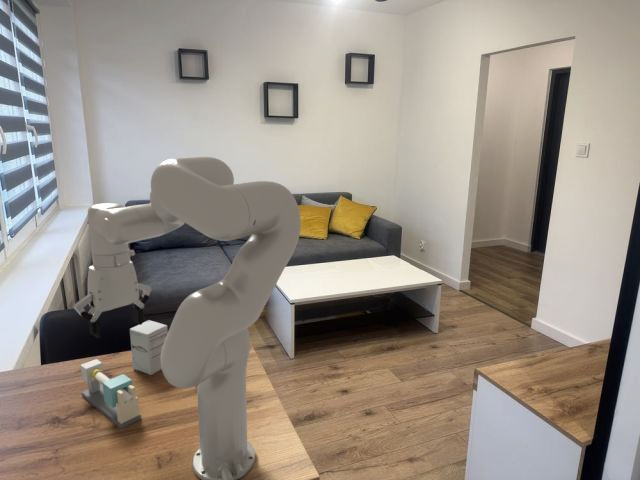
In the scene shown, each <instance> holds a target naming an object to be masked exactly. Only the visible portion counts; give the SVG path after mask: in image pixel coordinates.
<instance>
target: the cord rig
mask: <svg viewBox="0 0 640 480" xmlns="http://www.w3.org/2000/svg"><path fill="white" fill-rule="evenodd" d="M80 371H81V379H82V381H84V382H85V383H86V384H87V389H86V390H84V391H82V392H81V397H83V398H84V399H85V400H87V401H88V402H89V403H91V405H92V406H94V407H95V408H96V409H97V410H98V411H99V412H101V413H102V414H103V415H104V416H105V417H106V418H107V419H108V420H110V421H111V422H112V423H113V424H114V425H116V426H117V427H118V429H123V428H125V427H127V426H130V425H131V424H134V423H135V422H137V421H139V420H141V419H142V414H141V413H140V408H139V397H138V396H137V395H136V387H135V386H133V384H132V385H130V386H128V390H129V393H128V392H127V391H125V390H124V389H123V388H122V389H120V390H118V391H116V395H117V399H118V403H116V407H114V408H112V407H111V406H110V405H108V404H107V403H106V402H105V401H104V392H103V382H105V381H107V380H110V379H111V378H109V377H108V376H107V375H105V374H104V369H103V363H102V361H100V360H99V359H97V358H96V359H92V360H91V361H87V362H85V363H82V364H80ZM100 383H101V384H100Z"/></svg>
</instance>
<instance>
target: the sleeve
mask: <svg viewBox="0 0 640 480" xmlns="http://www.w3.org/2000/svg"><path fill="white" fill-rule="evenodd" d="M109 379H110V380H107V381H105V382H103V384H102V385H103V392H104V401H105V402H106V403H107V404H108V405H110V406H111V407H112V408H114V407H116V403H118V399H117V395H116V391H118V390H120V389H122V388H123V389H124V390H125V391H127V392H128V393H129V390H128V386H130V385H132V386H133V380H132V378H130V377H128V376H127V375H125V373H122V374H120V375H118V376H114V377H112V378H109Z"/></svg>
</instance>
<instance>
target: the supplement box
mask: <svg viewBox="0 0 640 480" xmlns="http://www.w3.org/2000/svg"><path fill="white" fill-rule="evenodd" d="M168 331H169V330H168V325H167V324H164V323H160V322H157V321H153V320H150V319H148V320H146V321H144V322H142V324H141V325H139V324H137V325H135V326H133V327H131V328H129V336H130V347H131V348H130V349H131V360H132V369H133V370H135V371H139V372H141V373H145V374H147V375H149V376H152V375H154V374H155V373H158V372H159V371H160V370H161V371H162V369H161V361H160V358H161V351H162V347H163V344H164V341H165V339H166V336H167V334H168Z"/></svg>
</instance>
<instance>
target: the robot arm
mask: <svg viewBox="0 0 640 480" xmlns="http://www.w3.org/2000/svg"><path fill="white" fill-rule="evenodd" d="M149 201H150V202H149V203H143V204H142V203H141V204H138V205H130V206H125V207H124V205H122V204H121V203H115V202H111V203H110V202H104V203H103V202H102V203H97V204H92V205H90V206H89V208H88V210H87V220H88V227H89V228H88V231H89V239H90V247H91V248H90V251H91V258H92V265H90V266H89V267H88V273H87V294H86V295H85V296H84V297H83V298H81V299H80V300H78V301H77V302H76V303H74V304H73V308H74V310H75V311H76V312H77V313H78V314H79V315H80V316H81V317H82V318H85V320H87V321H88V327H89V333H90V335H92V336H94V338H97V339H100V338H101V337H102V332H101V323H100V321H99V320H98V319H99V317H100V316H101V314H102V313H103V312H107V311H112V310H114V309H118V308H121V307H125V306H129V305H132V304H133V305H132V307H131V308H132V321H133V323H135V324H137V325H141V324H142V323H143V319H144V313H143V312H144V311H143V309H144V308H145V304H146V303H147V301H149V298H150V294H151V291H152V286H149V285H146V284H142V283H139V282H138V277H137V273H136V269H135V266H134V263H133V261H132V260H131V257H132V256H133V257H134V256H135V255H136V252H135V250H134V249H130V248H129V244H132V243H136V242H140V241H143V240H148V239H153V238H157V237H160V236H163V235H166V234H168V233H169V234H170V232H173V231H175V230H177V229H179V228H181V227H183V226H184V225H185V224H186V225H188V226H190V227H191V228H193V229H194V230H196V231H198V232H199V233H201V234H203V235H204V236H206V237H208V238H210V239H213V240H216V241H223V242H224V241H225V242H229V241H234V240H238V239H241V238H244V237H249V236H250V237H249V238H248V239H247V241H246V242H244V243H243V244H242V246H241V247H240V249H239V250H238V252H237V253H236V255H235V257H234V258H233V260H232V263H231V265H230V267H229V270H228V271H227V273H226V275H225V276H224V277H223V278H222V279H221V280H219V281H218V282H215V283H214V284H213V283H212V284H211V285H209V286H206V287H203V288H201V289H198V290H196V291H195V292H192V293H191V294H189V295H188V296H187V297H185V299H184V300H183V301H182V302H181V304H180V305H179V307H178V308H177V310H176V312H175V315H174V316H173V320H172V322H171V324H170V327H169V329H168V330H167V331H168V334H167V336H166V339H165V341H164V344H163V347H162V351H161V358H160V361H161V372H162V374H163V376H164V378H165V380H166V381H167V383H169V384H170V385H172V386H173V387H175V388H178V389H190V388H193V387H196V392H197V393H196V397H197V398H196V399H197V401H196V402H197V416H198V434H199V435H198V438H199V448H198V449H197V450H196V452H195V453H194V455H193V457H192V469H193V471H194V474H195V475H196V476H197V477H198V478H199V479H201V480H238V479H240V478H242V477H244V476H245V475H247V473H249V471H251V469H252V467H253V466H254V464H255V461H256V451H255V447H254V446H253V445H252V443H251V442H250V441H248V419H247V417H248V415H247V366H248V361H249V360H248V359H249V355H250V350H251V336H250V335H251V334H250V331H249V329H248V328H249V327H250V326H252V325H253V324H255V323H256V322H257V321H258V320H259V318H260V316H261V314H262V312H263V311H264V308H265V306H266V304H267V303H268V300H269V299H270V297H271V295H272V293H273V291H274V289H275V287H276V286H277V283H278V282H279V279H280V278H281V276H282V274H283V272H284V270H285V268H286V266H287V265H288V264H289V262H290V260H291V259H292V256H293V254H294V252H295V249H296V247H297V245H298V243H299V238H300V236H301V235H300V234H301V228H302V227H301V226H302V225H301V222H302V221H301V213H300V212H301V211H300V209H299V206H298V203H297V200H296V198H295V197H294V195H293V193H292V191H290V190H289V189H288V188H287V187H286V186H284V185H283V184H281V183H277V182H275V181H274V182H273V181H268V180H267V181H266V180H265V181H264V180H258V181H249V182H243V183H235V177H234V174H233V171H232V169H231V167H229V166H228V165H227V164H226V163H225V162H224V161H222V160H220V159H218V158H216V157H211V156H197V157H180V158H179V157H178V158H169V159H167V160H165V161H163V162H161V163H160V164H158V166H156V167H155V169H154V171H153V172H152V175H151V179H150V192H149ZM140 291H142V294H141V295H140ZM87 305H88V306H89V307H90V309H89V310H88V312H87V311H86V310H85V307H86V306H87Z"/></svg>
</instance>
